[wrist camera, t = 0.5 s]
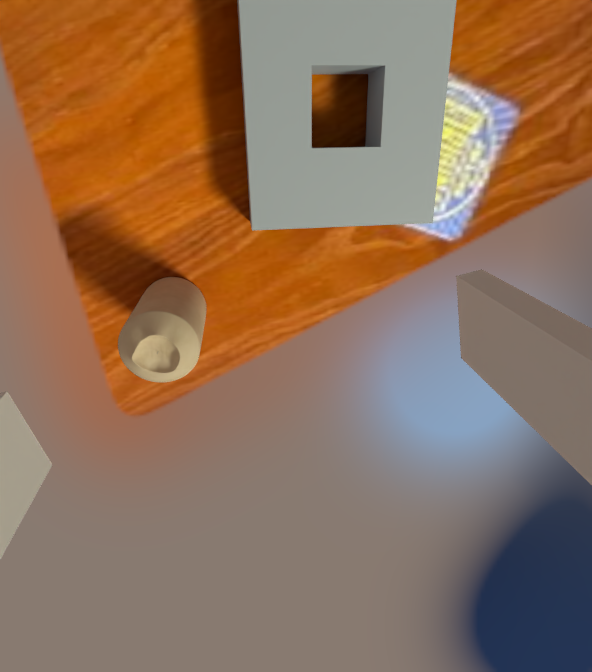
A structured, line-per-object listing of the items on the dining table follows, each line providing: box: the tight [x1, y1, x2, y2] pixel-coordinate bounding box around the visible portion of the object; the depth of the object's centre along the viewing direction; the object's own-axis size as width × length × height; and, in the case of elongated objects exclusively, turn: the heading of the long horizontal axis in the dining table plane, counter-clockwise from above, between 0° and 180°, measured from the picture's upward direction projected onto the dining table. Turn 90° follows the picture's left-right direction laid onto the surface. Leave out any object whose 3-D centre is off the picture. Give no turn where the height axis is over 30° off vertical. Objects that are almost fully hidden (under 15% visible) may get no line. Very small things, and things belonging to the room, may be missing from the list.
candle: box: [118, 277, 206, 382], centre depth 33 cm, size 6×6×10 cm
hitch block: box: [237, 0, 456, 230], centre depth 32 cm, size 16×14×4 cm
